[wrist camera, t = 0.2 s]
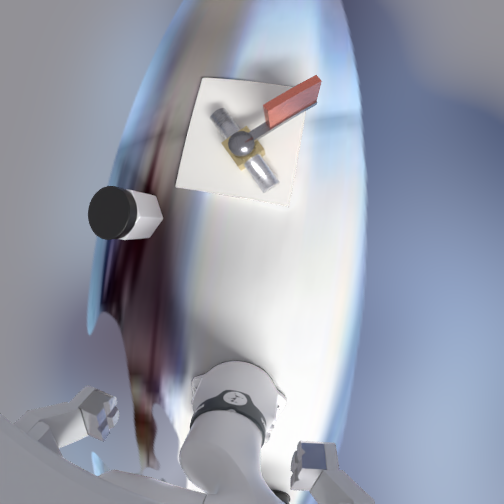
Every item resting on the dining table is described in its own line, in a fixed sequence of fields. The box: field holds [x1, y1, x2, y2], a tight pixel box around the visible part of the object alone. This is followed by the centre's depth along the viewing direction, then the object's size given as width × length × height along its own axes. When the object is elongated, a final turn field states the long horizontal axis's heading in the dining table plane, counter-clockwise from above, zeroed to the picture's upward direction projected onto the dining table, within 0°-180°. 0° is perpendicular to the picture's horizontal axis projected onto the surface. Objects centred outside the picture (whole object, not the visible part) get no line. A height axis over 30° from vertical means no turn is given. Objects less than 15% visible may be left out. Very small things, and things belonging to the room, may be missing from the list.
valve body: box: [210, 108, 280, 193], centre depth 45 cm, size 16×5×4 cm, turn 34°
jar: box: [88, 186, 163, 240], centre depth 45 cm, size 9×8×12 cm
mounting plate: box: [175, 78, 306, 207], centre depth 47 cm, size 22×20×1 cm
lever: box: [228, 75, 321, 157], centre depth 38 cm, size 16×4×8 cm, turn 124°
